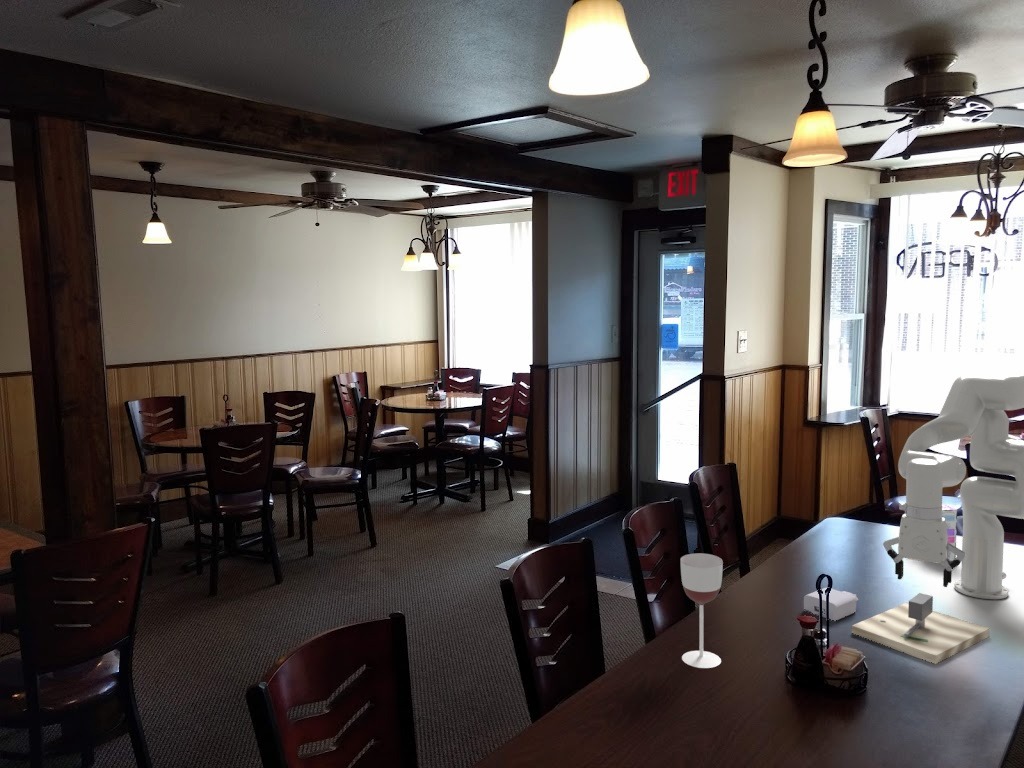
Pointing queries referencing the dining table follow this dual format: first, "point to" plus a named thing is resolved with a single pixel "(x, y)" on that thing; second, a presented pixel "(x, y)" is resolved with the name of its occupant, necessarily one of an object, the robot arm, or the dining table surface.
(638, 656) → the dining table surface
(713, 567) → the wineglass
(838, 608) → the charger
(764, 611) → the dining table surface
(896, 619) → the wooden cutting board
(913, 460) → the robot arm
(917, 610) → the key
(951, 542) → the candy box
